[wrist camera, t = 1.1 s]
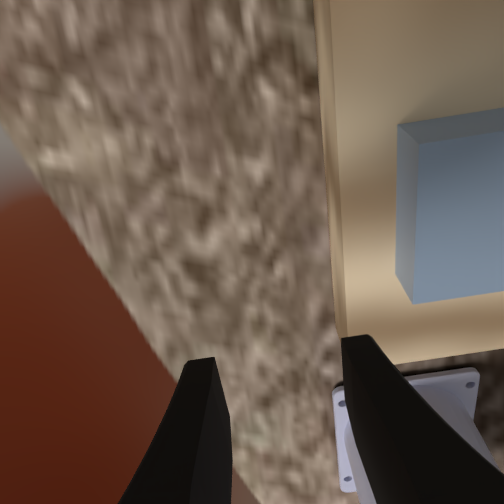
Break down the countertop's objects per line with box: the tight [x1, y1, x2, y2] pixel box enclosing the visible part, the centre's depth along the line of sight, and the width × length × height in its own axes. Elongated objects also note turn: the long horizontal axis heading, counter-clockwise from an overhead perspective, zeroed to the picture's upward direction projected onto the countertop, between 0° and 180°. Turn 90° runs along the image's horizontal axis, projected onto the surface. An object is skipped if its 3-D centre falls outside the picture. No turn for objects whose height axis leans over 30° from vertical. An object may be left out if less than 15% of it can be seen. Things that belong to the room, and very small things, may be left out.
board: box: [313, 0, 504, 364], centre depth 18 cm, size 16×13×3 cm
